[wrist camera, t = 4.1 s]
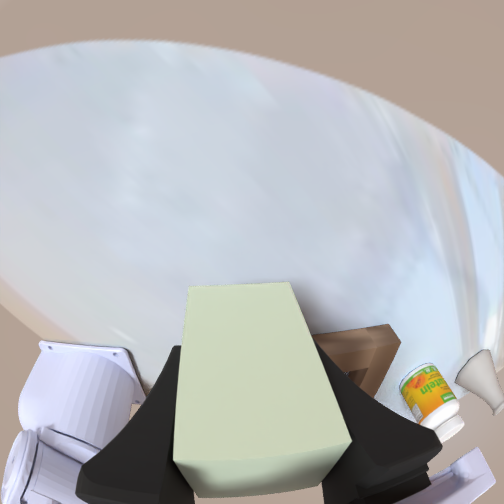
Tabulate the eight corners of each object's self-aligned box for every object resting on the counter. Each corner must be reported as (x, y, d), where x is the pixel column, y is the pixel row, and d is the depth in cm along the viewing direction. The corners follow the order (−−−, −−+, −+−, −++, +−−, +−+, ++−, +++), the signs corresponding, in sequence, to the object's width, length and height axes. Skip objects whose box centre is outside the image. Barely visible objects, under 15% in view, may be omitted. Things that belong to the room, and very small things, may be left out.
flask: (493, 343, 30) (526, 383, 21) (474, 373, 33) (501, 413, 24) (468, 354, 29) (502, 402, 20) (448, 386, 32) (475, 431, 23)
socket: (262, 411, 26) (265, 430, 24) (268, 339, 22) (273, 362, 19) (358, 395, 28) (365, 412, 25) (388, 323, 23) (401, 342, 20)
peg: (198, 355, 14) (198, 497, 7) (189, 286, 12) (173, 459, 5) (281, 350, 15) (317, 485, 8) (289, 281, 13) (351, 440, 6)
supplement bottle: (437, 355, 27) (476, 412, 18) (428, 380, 29) (460, 432, 21) (402, 372, 27) (438, 436, 18) (395, 395, 29) (424, 453, 21)
